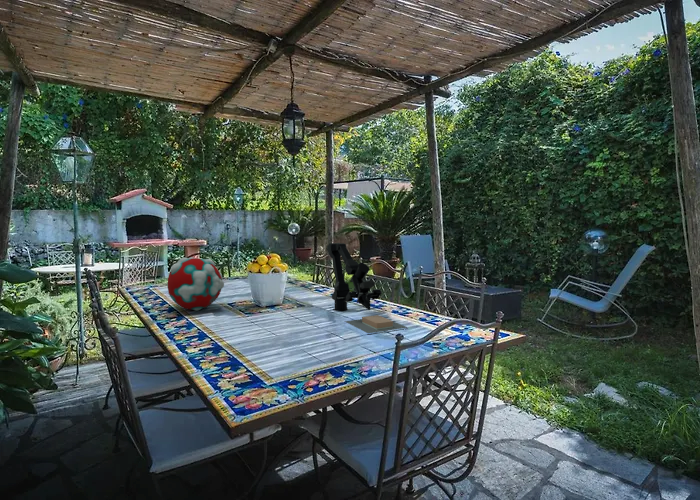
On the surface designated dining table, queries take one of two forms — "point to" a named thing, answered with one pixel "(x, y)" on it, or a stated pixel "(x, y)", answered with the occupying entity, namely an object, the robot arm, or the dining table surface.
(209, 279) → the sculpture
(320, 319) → the dining table surface
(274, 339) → the dining table surface
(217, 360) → the dining table surface
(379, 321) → the tile
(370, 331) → the mat
